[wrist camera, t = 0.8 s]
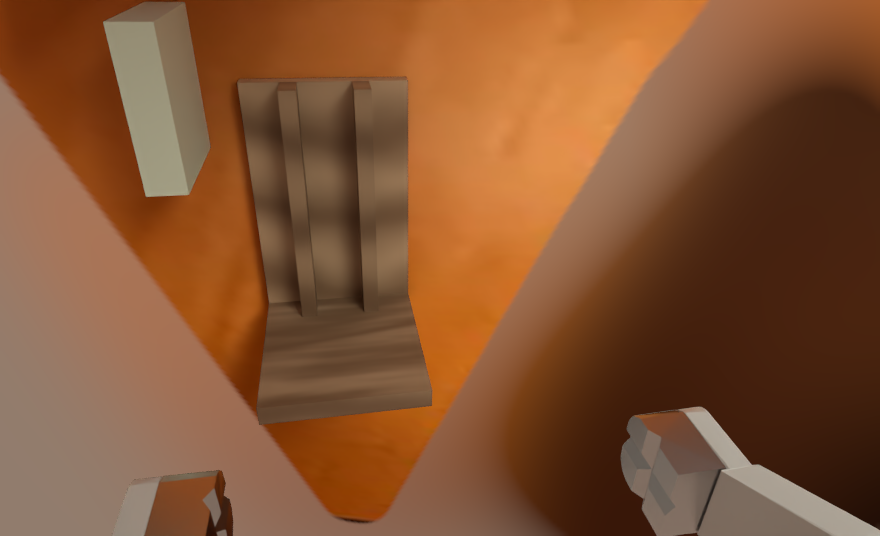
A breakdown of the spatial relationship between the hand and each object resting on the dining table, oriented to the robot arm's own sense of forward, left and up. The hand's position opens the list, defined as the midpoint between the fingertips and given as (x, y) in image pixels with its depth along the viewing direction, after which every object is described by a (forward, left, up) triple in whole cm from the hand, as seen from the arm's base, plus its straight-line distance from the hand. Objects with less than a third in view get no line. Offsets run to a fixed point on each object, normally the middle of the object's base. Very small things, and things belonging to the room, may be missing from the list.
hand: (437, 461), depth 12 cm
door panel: (+1, -12, -37) cm, 39 cm away
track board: (+11, -2, -37) cm, 38 cm away
